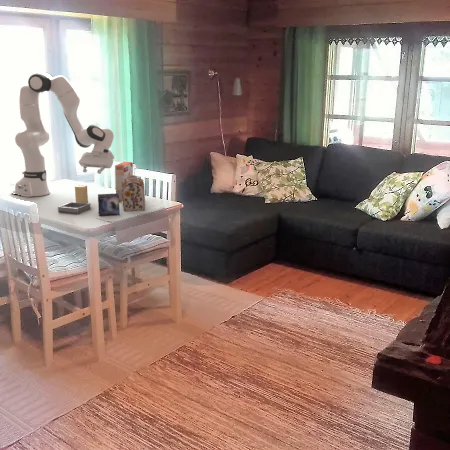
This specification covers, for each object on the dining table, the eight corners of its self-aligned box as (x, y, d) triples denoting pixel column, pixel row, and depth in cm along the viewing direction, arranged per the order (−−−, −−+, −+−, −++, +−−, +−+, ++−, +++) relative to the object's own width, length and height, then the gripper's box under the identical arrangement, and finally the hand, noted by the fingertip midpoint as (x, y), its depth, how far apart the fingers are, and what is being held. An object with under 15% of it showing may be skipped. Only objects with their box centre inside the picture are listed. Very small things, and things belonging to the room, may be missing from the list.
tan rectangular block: (75, 204, 304) (74, 186, 301) (80, 202, 308) (79, 185, 305) (83, 204, 302) (82, 187, 299) (88, 203, 306) (87, 185, 303)
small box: (99, 216, 279) (98, 196, 276) (98, 213, 285) (97, 194, 282) (120, 215, 282) (119, 195, 279) (118, 212, 288) (117, 193, 285)
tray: (58, 212, 286) (57, 206, 285) (71, 207, 297) (70, 201, 296) (77, 214, 282) (77, 208, 282) (90, 209, 293) (90, 203, 292)
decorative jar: (122, 206, 300) (121, 174, 295) (143, 205, 303) (142, 173, 298) (123, 211, 289) (122, 178, 284) (145, 210, 292) (144, 177, 287)
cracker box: (125, 201, 310) (124, 165, 304) (115, 201, 311) (114, 165, 305) (134, 196, 323) (133, 161, 317) (124, 195, 324) (123, 161, 318)
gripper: (81, 148, 318) (73, 168, 311) (112, 150, 311) (104, 170, 305) (86, 155, 323) (78, 174, 317) (116, 157, 317) (109, 176, 311)
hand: (91, 172), depth 311 cm, fingers open, 8 cm apart
